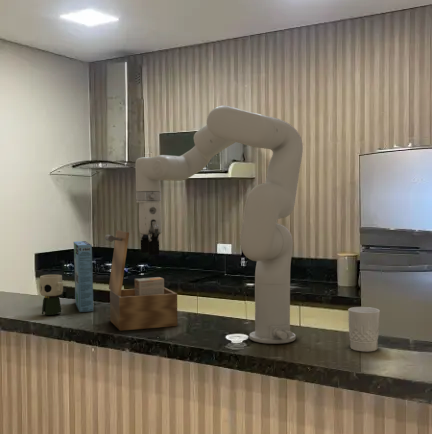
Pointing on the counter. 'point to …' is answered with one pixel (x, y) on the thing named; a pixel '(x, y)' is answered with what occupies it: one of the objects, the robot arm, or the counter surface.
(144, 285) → the supplement box
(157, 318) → the chest
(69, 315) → the counter surface
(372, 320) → the white cup
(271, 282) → the robot arm
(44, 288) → the character mug
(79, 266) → the gum box
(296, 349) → the counter surface
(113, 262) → the lid
